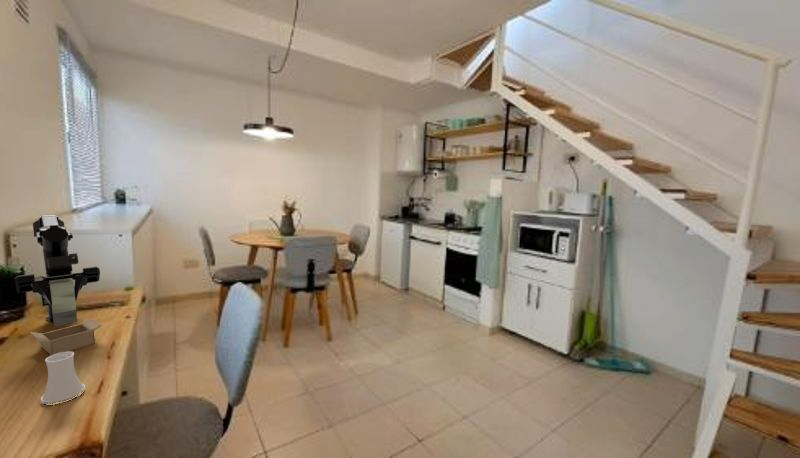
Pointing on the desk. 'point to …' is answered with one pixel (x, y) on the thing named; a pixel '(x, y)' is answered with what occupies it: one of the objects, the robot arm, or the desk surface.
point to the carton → (68, 337)
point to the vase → (61, 379)
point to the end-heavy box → (63, 301)
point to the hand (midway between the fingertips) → (63, 302)
